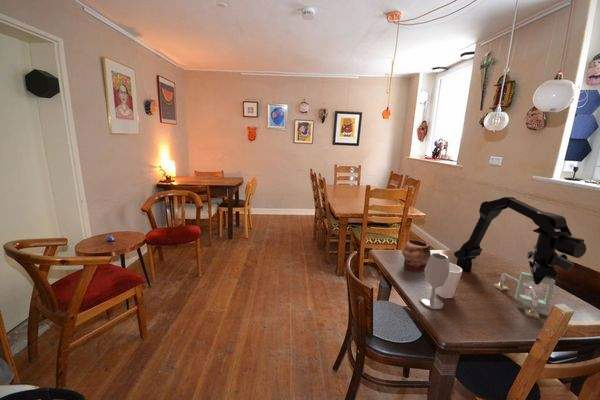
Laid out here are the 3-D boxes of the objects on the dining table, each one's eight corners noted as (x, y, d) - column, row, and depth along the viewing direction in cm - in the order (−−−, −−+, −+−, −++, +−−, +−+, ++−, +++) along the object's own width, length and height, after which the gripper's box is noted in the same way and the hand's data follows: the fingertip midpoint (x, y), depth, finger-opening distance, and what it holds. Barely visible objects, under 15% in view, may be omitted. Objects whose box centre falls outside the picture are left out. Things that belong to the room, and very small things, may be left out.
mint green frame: (515, 299, 108) (522, 274, 106) (514, 296, 111) (521, 271, 108) (547, 308, 103) (555, 282, 100) (546, 304, 106) (553, 278, 103)
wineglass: (433, 312, 102) (442, 262, 97) (414, 300, 109) (422, 253, 105) (447, 306, 106) (457, 258, 101) (428, 295, 113) (436, 250, 109)
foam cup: (454, 291, 118) (459, 264, 115) (459, 302, 109) (464, 274, 106) (431, 286, 120) (435, 260, 118) (433, 297, 112) (438, 269, 109)
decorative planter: (415, 258, 150) (418, 235, 146) (436, 267, 140) (440, 242, 137) (394, 267, 138) (397, 242, 135) (415, 277, 128) (420, 250, 125)
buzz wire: (528, 318, 101) (540, 298, 99) (490, 284, 125) (499, 267, 123) (542, 322, 101) (554, 303, 99) (502, 287, 125) (511, 271, 122)
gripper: (583, 261, 90) (570, 301, 93) (567, 244, 105) (556, 279, 108) (540, 252, 95) (530, 291, 99) (530, 237, 111) (522, 271, 114)
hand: (535, 283), depth 105 cm, fingers closed on mint green frame, 2 cm apart
